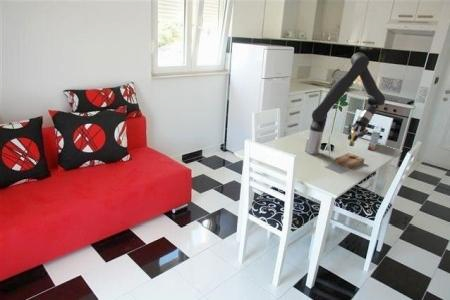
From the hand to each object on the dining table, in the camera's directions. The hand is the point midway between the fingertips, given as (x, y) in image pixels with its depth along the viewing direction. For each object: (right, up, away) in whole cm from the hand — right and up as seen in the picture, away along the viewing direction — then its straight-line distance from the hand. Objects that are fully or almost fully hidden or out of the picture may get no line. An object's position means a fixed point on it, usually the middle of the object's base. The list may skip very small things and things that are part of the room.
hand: (351, 139), depth 207 cm
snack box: (+36, -4, +47) cm, 59 cm away
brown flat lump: (+3, -16, +10) cm, 19 cm away
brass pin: (+1, -4, +3) cm, 5 cm away
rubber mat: (-10, -19, 0) cm, 22 cm away
